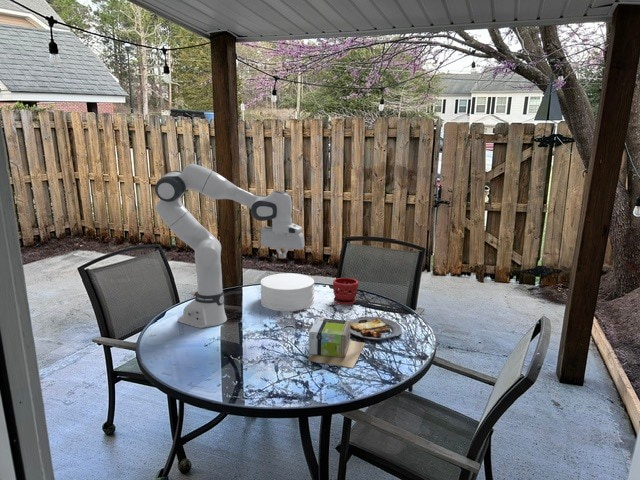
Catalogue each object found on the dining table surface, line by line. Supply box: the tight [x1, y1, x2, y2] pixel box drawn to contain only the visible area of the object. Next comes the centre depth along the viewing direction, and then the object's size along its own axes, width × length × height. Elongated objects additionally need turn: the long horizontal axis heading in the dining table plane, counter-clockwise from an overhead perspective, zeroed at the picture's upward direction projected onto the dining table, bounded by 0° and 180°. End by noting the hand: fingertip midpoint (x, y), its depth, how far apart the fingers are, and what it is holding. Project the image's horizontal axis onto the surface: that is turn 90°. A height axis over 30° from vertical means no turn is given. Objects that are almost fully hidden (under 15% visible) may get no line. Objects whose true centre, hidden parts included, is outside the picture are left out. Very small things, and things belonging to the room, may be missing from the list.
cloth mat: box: [307, 340, 366, 369], centre depth 177 cm, size 18×22×1 cm
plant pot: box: [332, 277, 359, 306], centre depth 231 cm, size 13×13×12 cm
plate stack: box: [260, 272, 315, 312], centre depth 232 cm, size 28×28×12 cm
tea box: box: [308, 317, 351, 358], centre depth 178 cm, size 15×10×15 cm
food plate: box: [349, 315, 403, 340], centre depth 197 cm, size 25×23×4 cm
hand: (282, 257), depth 199 cm, fingers closed
